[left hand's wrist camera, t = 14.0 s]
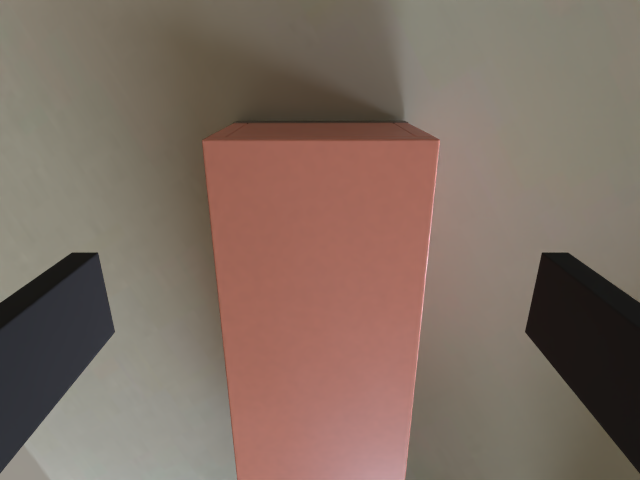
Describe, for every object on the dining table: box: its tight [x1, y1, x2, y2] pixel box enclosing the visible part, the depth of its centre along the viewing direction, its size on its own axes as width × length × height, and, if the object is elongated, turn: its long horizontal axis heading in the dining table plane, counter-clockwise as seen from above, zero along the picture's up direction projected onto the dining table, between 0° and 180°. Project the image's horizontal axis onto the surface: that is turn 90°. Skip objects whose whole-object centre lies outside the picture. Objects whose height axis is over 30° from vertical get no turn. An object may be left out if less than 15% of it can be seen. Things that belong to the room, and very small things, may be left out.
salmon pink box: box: [202, 121, 440, 480], centre depth 24 cm, size 20×10×8 cm, turn 0°
